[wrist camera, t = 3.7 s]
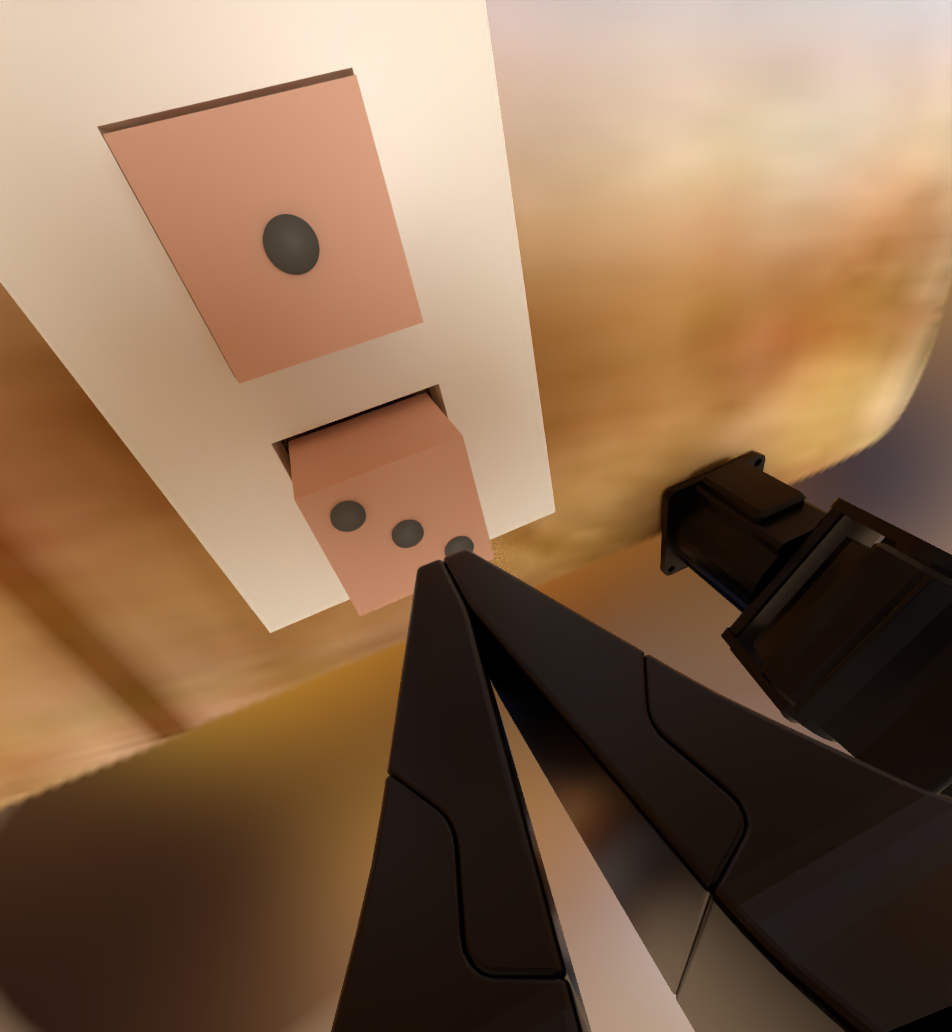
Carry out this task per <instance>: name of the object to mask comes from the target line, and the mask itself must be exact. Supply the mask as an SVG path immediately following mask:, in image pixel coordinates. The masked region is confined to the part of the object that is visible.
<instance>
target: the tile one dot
mask: <svg viewBox="0 0 952 1032" xmlns="http://www.w3.org/2000/svg"><path fill="white" fill-rule="evenodd" d="M103 136H104V138H105V140H106V141H107V143H108V145H109V147H110V149H111V151H112V152H113V154H114V156H115V158H116V160H117V161H118V163H119V165H120V167H121V169H122V171H123V172H124V174H125V176H126V178H127V180H128V182H129V183H130V185H131V187H132V189H133V191H134V192H135V194H136V196H137V198H138V200H139V202H140V203H141V205H142V207H143V209H144V211H145V213H146V214H147V216H148V218H149V220H150V222H151V223H152V225H153V227H154V229H155V231H156V233H157V234H158V236H159V238H160V240H161V242H162V244H163V245H164V247H165V249H166V251H167V253H168V254H169V256H170V258H171V260H172V262H173V264H174V265H175V267H176V269H177V271H178V273H179V275H180V276H181V278H182V280H183V282H184V284H185V286H186V287H187V289H188V291H189V293H190V295H191V296H192V298H193V300H194V302H195V304H196V306H197V307H198V309H199V311H200V313H201V315H202V317H203V318H204V320H205V322H206V324H207V326H208V327H209V329H210V331H211V333H212V335H213V337H214V338H215V340H216V342H217V344H218V346H219V348H220V349H221V351H222V353H223V355H224V357H225V358H226V360H227V362H228V364H229V366H230V368H231V369H232V371H233V373H234V375H235V377H236V379H237V380H238V382H239V384H240V383H243V382H246V381H249V380H252V379H255V378H258V377H261V376H264V375H267V374H270V373H273V372H276V371H279V370H282V369H285V368H288V367H291V366H294V365H297V364H300V363H303V362H306V361H309V360H312V359H315V358H318V357H321V356H324V355H327V354H330V353H333V352H336V351H339V350H342V349H345V348H348V347H351V346H354V345H357V344H360V343H363V342H366V341H369V340H372V339H375V338H378V337H381V336H384V335H387V334H390V333H393V332H396V331H399V330H402V329H405V328H408V327H411V326H414V325H417V324H420V323H423V319H422V315H421V311H420V308H419V304H418V300H417V297H416V293H415V289H414V286H413V282H412V278H411V275H410V271H409V267H408V264H407V260H406V256H405V253H404V249H403V245H402V242H401V238H400V234H399V231H398V227H397V223H396V220H395V216H394V212H393V208H392V205H391V201H390V197H389V194H388V190H387V186H386V183H385V179H384V175H383V172H382V168H381V164H380V161H379V157H378V153H377V150H376V146H375V142H374V139H373V135H372V131H371V128H370V124H369V120H368V117H367V113H366V109H365V105H364V102H363V98H362V94H361V91H360V87H359V83H358V80H357V76H356V75H353V76H348V77H344V78H340V79H336V80H331V81H327V82H323V83H319V84H314V85H310V86H306V87H302V88H297V89H293V90H289V91H285V92H280V93H276V94H272V95H268V96H263V97H259V98H255V99H251V100H246V101H242V102H238V103H234V104H229V105H225V106H221V107H217V108H212V109H208V110H204V111H200V112H195V113H191V114H187V115H183V116H178V117H174V118H170V119H166V120H161V121H157V122H153V123H149V124H144V125H140V126H136V127H132V128H127V129H123V130H119V131H115V132H110V133H106V134H103Z"/></svg>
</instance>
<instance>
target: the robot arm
mask: <svg viewBox="0 0 952 1032" xmlns="http://www.w3.org/2000/svg"><path fill="white" fill-rule="evenodd" d="M764 463H765V456H764V455H763V454H761V453H759V452H753V453H751V454H748V455H746V456H744V457H741V458H739V459H737V460H735V461H732V462H730V463H728V464H725V465H723V466H721V467H718V468H716V469H714V470H712V471H709V472H707V473H705V474H702V475H700V476H698V477H695V478H693V479H691V480H688V481H686V482H684V483H682V484H679V485H677V486H675V487H672V488H670V489H669V490H668V491H667V492H666V493H665V495H664V498H663V517H662V542H661V565H660V569H661V571H662V572H663V573H664V574H666V575H671V574H674V573H676V572H678V571H680V570H682V569H684V568H686V567H689V568H691V569H692V570H693V571H694V572H695V573H696V574H698V575H699V576H700V577H701V578H702V579H704V580H705V581H706V582H707V583H708V584H709V585H711V586H712V587H713V588H714V589H715V590H716V591H717V592H719V593H720V594H721V595H722V596H723V597H724V598H726V599H727V600H728V601H729V602H730V603H732V604H733V605H734V606H735V607H736V608H737V609H738V610H740V611H741V612H742V614H741V615H740V616H739V618H738V619H737V620H736V621H735V622H734V623H733V625H732V626H731V627H730V628H727V629H726V630H725V631H724V632H723V633H722V634H721V636H722V638H723V639H724V640H725V641H726V643H727V644H728V645H729V646H730V650H731V651H732V652H733V654H734V655H735V656H736V657H737V659H738V660H739V661H740V662H741V663H742V665H743V666H744V667H745V668H746V670H747V671H748V672H749V673H750V675H751V676H752V677H753V678H754V680H755V681H756V682H757V683H758V684H759V686H760V687H761V688H762V689H763V691H764V692H765V693H766V694H767V696H768V697H769V698H770V699H771V701H772V702H773V703H774V704H775V705H776V707H777V708H778V709H779V710H780V712H781V714H782V715H783V716H784V717H785V718H786V719H787V720H789V721H790V722H793V723H799V724H801V725H802V726H804V727H805V728H807V729H808V730H810V731H811V732H813V733H815V734H817V735H818V736H820V737H822V738H824V739H827V740H829V741H833V742H838V743H839V744H841V745H842V746H843V747H844V748H845V749H846V750H847V751H848V752H849V753H851V754H852V755H853V756H854V757H855V758H854V757H852V756H850V755H848V754H846V753H843V752H841V751H839V750H837V749H834V748H832V747H831V746H828V745H826V744H824V743H821V742H820V741H818V740H815V739H813V738H811V737H809V736H807V735H805V734H802V733H800V732H798V731H796V730H794V729H792V728H789V727H787V726H785V725H783V724H781V723H779V722H776V721H774V720H772V719H770V718H768V717H766V716H764V715H761V714H760V713H757V712H755V711H753V710H751V709H749V708H747V707H745V706H743V705H741V704H739V703H737V702H735V701H732V700H731V699H729V698H727V697H725V696H723V695H721V694H719V693H716V692H714V691H713V690H711V689H709V688H707V687H706V686H704V685H702V684H700V683H698V682H696V681H695V680H693V679H691V678H689V677H687V676H686V675H684V674H682V673H680V672H678V671H676V670H674V669H673V668H671V667H669V666H668V665H666V664H664V663H662V662H661V661H659V660H657V659H656V658H654V657H652V656H651V655H646V656H645V658H644V652H643V651H641V650H640V649H638V648H637V647H635V646H633V645H631V644H630V643H628V642H626V641H624V640H623V639H621V638H619V637H618V636H616V635H614V634H612V633H611V632H609V631H607V630H606V629H604V628H602V627H600V626H599V625H597V624H595V623H594V622H592V621H590V620H588V619H587V618H585V617H583V616H582V615H580V614H578V613H576V612H574V611H573V610H571V609H569V608H568V607H566V606H564V605H563V604H561V603H559V602H557V601H556V600H554V599H552V598H550V597H549V596H547V595H545V594H543V593H542V592H540V591H539V590H537V589H535V588H533V587H532V586H530V585H528V584H526V583H525V582H523V581H521V580H520V579H518V578H516V577H514V576H513V575H511V574H509V573H508V572H506V571H504V570H502V569H501V568H499V567H497V566H496V565H494V564H492V563H490V562H489V561H487V560H485V559H483V558H482V557H480V556H478V555H477V554H475V553H473V552H471V551H470V550H467V549H464V550H461V551H458V552H456V553H453V554H451V555H448V556H446V557H445V558H444V562H443V561H442V560H436V561H433V562H430V563H428V564H425V565H423V566H421V567H419V568H418V570H417V573H416V580H415V587H414V593H413V600H412V607H411V614H410V621H409V627H408V634H407V641H406V648H405V655H404V661H403V668H402V675H401V682H400V689H399V696H398V702H397V709H396V716H395V722H394V729H393V736H392V742H391V749H390V756H389V763H388V769H387V772H388V774H389V775H390V776H388V777H387V778H386V781H385V788H384V794H383V801H382V808H381V814H380V820H379V826H378V831H377V837H376V842H375V848H374V853H373V860H372V865H371V869H370V874H369V878H368V882H367V887H366V891H365V896H364V900H363V904H362V909H361V913H360V917H359V922H358V926H357V930H356V934H355V938H354V942H353V947H352V951H351V954H350V959H349V962H348V966H347V970H346V974H345V978H344V982H343V986H342V990H341V994H340V998H339V1002H338V1005H337V1010H336V1013H335V1017H334V1021H333V1025H332V1030H331V1032H591V1028H590V1025H589V1021H588V1018H587V1015H586V1011H585V1007H584V1004H583V1001H582V998H581V994H580V990H579V987H578V983H577V980H576V976H575V973H574V969H573V966H572V962H571V959H570V956H569V952H568V948H567V945H566V941H565V938H564V935H563V931H562V927H561V925H560V920H559V917H558V914H557V910H556V907H555V903H554V900H553V896H552V893H551V889H550V886H549V882H548V879H547V875H546V872H545V868H544V865H543V861H542V858H541V854H540V851H539V848H538V844H537V840H536V837H535V834H534V830H533V827H532V823H531V819H530V816H529V813H528V809H527V806H526V802H525V799H524V795H523V792H522V789H521V785H520V781H519V778H518V774H517V771H516V767H515V764H514V760H513V757H512V754H511V750H510V746H509V743H508V739H507V736H506V732H505V729H504V725H503V722H502V719H501V716H500V712H499V708H498V705H497V701H496V698H495V695H494V692H493V688H492V685H493V686H494V688H495V690H496V692H497V694H498V696H499V697H500V699H501V701H502V702H503V704H504V706H505V708H506V709H507V711H508V713H509V715H510V716H511V718H512V720H513V721H514V723H515V725H516V727H517V728H518V730H519V732H520V733H521V735H522V737H523V739H524V740H525V742H526V744H527V745H528V747H529V749H530V750H531V752H532V754H533V756H534V757H535V759H536V761H537V762H538V764H539V766H540V767H541V769H542V771H543V773H544V774H545V776H546V778H547V779H548V781H549V783H550V785H551V786H552V787H553V790H554V791H555V793H556V794H557V796H558V798H559V800H560V802H561V803H562V805H563V807H564V808H565V810H566V812H567V813H568V815H569V817H570V819H571V820H572V822H573V824H574V825H575V827H576V829H577V830H578V832H579V834H580V835H581V837H582V839H583V841H584V843H585V844H586V846H587V848H588V849H589V851H590V853H591V854H592V856H593V858H594V860H595V861H596V863H597V865H598V866H599V868H600V870H601V871H602V873H603V875H604V877H605V878H606V880H607V882H608V883H609V885H610V887H611V888H612V890H613V892H614V893H615V895H616V897H617V899H618V900H619V902H620V904H621V906H622V907H623V909H624V910H625V912H626V914H627V916H628V917H629V919H630V921H631V923H632V924H633V926H634V928H635V930H636V931H637V933H638V935H639V936H640V938H641V940H642V941H643V943H644V945H645V947H646V948H647V950H648V952H649V953H650V955H651V957H652V959H653V960H654V962H655V964H656V965H657V967H658V969H659V970H660V972H661V974H662V976H663V977H664V979H665V981H666V982H667V984H668V986H669V987H670V989H671V991H672V992H673V994H677V995H676V999H677V1001H678V1003H679V1005H680V1007H681V1008H682V1010H683V1012H684V1013H685V1015H686V1017H687V1018H688V1020H689V1022H690V1023H691V1025H692V1027H693V1028H694V1030H695V1032H952V555H951V554H949V553H947V552H945V551H943V550H941V549H939V548H937V547H935V546H933V545H931V544H929V543H927V542H925V541H923V540H921V539H919V538H918V537H916V536H914V535H912V534H909V533H907V532H906V531H904V530H902V529H900V528H898V527H896V526H894V525H892V524H890V523H888V522H886V521H884V520H882V519H880V518H878V517H876V516H874V515H872V514H870V513H868V512H866V511H864V510H862V509H860V508H858V507H856V506H854V505H852V504H850V503H848V502H846V501H844V500H842V499H840V498H837V499H836V500H835V501H834V502H833V504H832V505H831V506H830V507H831V509H830V510H829V512H828V513H827V512H825V511H823V510H821V509H819V508H818V507H816V506H814V505H812V504H810V503H809V502H807V501H805V500H806V496H805V495H804V494H803V493H801V492H800V491H798V490H796V489H794V488H792V487H790V486H789V485H787V484H785V483H783V482H781V481H779V480H777V479H776V478H774V477H772V476H770V475H768V474H766V473H764V472H763V468H764ZM881 535H883V536H885V538H884V539H883V540H882V541H881V543H877V544H874V542H875V541H876V540H877V539H878V538H879V537H880V536H881ZM873 544H874V545H873ZM872 545H873V546H872ZM871 546H872V547H871ZM870 547H871V548H870ZM490 680H491V682H492V685H491V682H490Z"/></svg>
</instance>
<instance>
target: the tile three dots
mask: <svg viewBox="0 0 952 1032" xmlns="http://www.w3.org/2000/svg"><path fill="white" fill-rule="evenodd" d="M288 445H289V454H290V464H291V473H292V483H293V492H294V500H295V502H296V504H297V505H298V507H299V509H300V511H301V513H302V514H303V516H304V518H305V520H306V521H307V523H308V525H309V527H310V529H311V530H312V532H313V534H314V536H315V538H316V539H317V541H318V543H319V545H320V546H321V548H322V550H323V552H324V554H325V555H326V557H327V559H328V561H329V562H330V564H331V566H332V568H333V570H334V571H335V573H336V575H337V577H338V578H339V580H340V582H341V584H342V586H343V587H344V589H345V591H346V593H347V594H348V596H349V598H350V600H351V602H352V603H353V605H354V607H355V609H356V610H357V612H358V614H359V616H360V617H361V616H363V615H365V614H368V613H370V612H372V611H375V610H377V609H379V608H382V607H384V606H386V605H389V604H391V603H393V602H396V601H398V600H400V599H403V598H405V597H407V596H409V595H412V594H413V593H414V587H415V580H416V573H417V570H418V568H419V567H421V566H423V565H425V564H428V563H430V562H433V561H436V560H442V561H443V562H444V558H445V557H446V556H448V555H451V554H453V553H456V552H458V551H461V550H464V549H467V550H470V551H471V552H473V553H475V554H477V555H478V556H480V557H482V558H483V559H485V560H487V561H491V560H493V559H495V558H494V554H493V550H492V547H491V543H490V539H489V535H488V531H487V527H486V523H485V520H484V516H483V512H482V508H481V504H480V500H479V496H478V493H477V489H476V485H475V481H474V477H473V473H472V469H471V466H470V462H469V458H468V454H467V450H466V446H465V443H464V439H463V435H462V434H461V433H460V432H459V431H458V430H457V428H456V427H455V426H454V425H453V424H452V423H451V421H450V420H449V419H448V418H447V417H446V416H445V414H444V413H443V412H442V411H441V410H440V409H439V407H438V406H437V405H436V404H435V403H434V402H433V400H432V399H431V398H430V397H429V396H428V394H427V393H426V392H425V393H422V394H419V395H416V396H414V397H411V398H408V399H405V400H402V401H400V402H397V403H394V404H391V405H389V406H386V407H383V408H380V409H377V410H375V411H372V412H369V413H366V414H363V415H361V416H358V417H355V418H352V419H349V420H347V421H344V422H341V423H338V424H336V425H333V426H330V427H327V428H324V429H322V430H319V431H316V432H313V433H310V434H308V435H305V436H302V437H299V438H297V439H294V440H291V441H288Z"/></svg>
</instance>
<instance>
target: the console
mask: <svg viewBox="0 0 952 1032" xmlns="http://www.w3.org/2000/svg"><path fill="white" fill-rule="evenodd" d="M353 75H356V76H357V80H358V83H359V87H360V91H361V94H362V98H363V102H364V105H365V109H366V113H367V117H368V120H369V124H370V128H371V131H372V135H373V139H374V142H375V146H376V150H377V153H378V157H379V161H380V164H381V168H382V172H383V175H384V179H385V183H386V186H387V190H388V194H389V197H390V201H391V205H392V208H393V212H394V216H395V220H396V223H397V227H398V231H399V234H400V238H401V242H402V245H403V249H404V253H405V256H406V260H407V264H408V267H409V271H410V275H411V278H412V282H413V286H414V289H415V293H416V297H417V300H418V304H419V308H420V311H421V315H422V319H423V323H420V324H417V325H414V326H411V327H408V328H405V329H402V330H399V331H396V332H393V333H390V334H387V335H384V336H381V337H378V338H375V339H372V340H369V341H366V342H363V343H360V344H357V345H354V346H351V347H348V348H345V349H342V350H339V351H336V352H333V353H330V354H327V355H324V356H321V357H318V358H315V359H312V360H309V361H306V362H303V363H300V364H297V365H294V366H291V367H288V368H285V369H282V370H279V371H276V372H273V373H270V374H267V375H264V376H261V377H258V378H255V379H252V380H249V381H246V382H243V383H240V384H239V382H238V380H237V379H236V377H235V375H234V373H233V371H232V369H231V368H230V366H229V364H228V362H227V360H226V358H225V357H224V355H223V353H222V351H221V349H220V348H219V346H218V344H217V342H216V340H215V338H214V337H213V335H212V333H211V331H210V329H209V327H208V326H207V324H206V322H205V320H204V318H203V317H202V315H201V313H200V311H199V309H198V307H197V306H196V304H195V302H194V300H193V298H192V296H191V295H190V293H189V291H188V289H187V287H186V286H185V284H184V282H183V280H182V278H181V276H180V275H179V273H178V271H177V269H176V267H175V265H174V264H173V262H172V260H171V258H170V256H169V254H168V253H167V251H166V249H165V247H164V245H163V244H162V242H161V240H160V238H159V236H158V234H157V233H156V231H155V229H154V227H153V225H152V223H151V222H150V220H149V218H148V216H147V214H146V213H145V211H144V209H143V207H142V205H141V203H140V202H139V200H138V198H137V196H136V194H135V192H134V191H133V189H132V187H131V185H130V183H129V182H128V180H127V178H126V176H125V174H124V172H123V171H122V169H121V167H120V165H119V163H118V161H117V160H116V158H115V156H114V154H113V152H112V151H111V149H110V147H109V145H108V143H107V141H106V140H105V138H104V136H103V134H106V133H110V132H115V131H119V130H123V129H127V128H132V127H136V126H140V125H144V124H149V123H153V122H157V121H161V120H166V119H170V118H174V117H178V116H183V115H187V114H191V113H195V112H200V111H204V110H208V109H212V108H217V107H221V106H225V105H229V104H234V103H238V102H242V101H246V100H251V99H255V98H259V97H263V96H268V95H272V94H276V93H280V92H285V91H289V90H293V89H297V88H302V87H306V86H310V85H314V84H319V83H323V82H327V81H331V80H336V79H340V78H344V77H348V76H353ZM0 282H1V284H2V285H3V286H4V288H5V289H6V290H7V292H8V293H9V294H10V295H11V297H12V298H13V299H14V301H15V302H16V303H17V305H18V306H19V307H20V308H21V310H22V311H23V312H24V314H25V315H26V316H27V318H28V319H29V320H30V321H31V323H32V324H33V325H34V327H35V328H36V329H37V331H38V332H39V333H40V334H41V336H42V337H43V338H44V340H45V341H46V342H47V344H48V345H49V346H50V347H51V349H52V350H53V351H54V353H55V354H56V355H57V357H58V358H59V359H60V360H61V362H62V363H63V364H64V366H65V367H66V368H67V370H68V371H69V372H70V373H71V375H72V376H73V377H74V379H75V380H76V381H77V383H78V384H79V385H80V386H81V388H82V389H83V390H84V392H85V393H86V394H87V396H88V397H89V398H90V399H91V401H92V402H93V403H94V405H95V406H96V407H97V409H98V410H99V411H100V412H101V414H102V415H103V416H104V418H105V419H106V420H107V422H108V423H109V424H110V425H111V427H112V428H113V429H114V431H115V432H116V433H117V435H118V436H119V437H120V438H121V440H122V441H123V442H124V444H125V445H126V446H127V447H128V449H129V450H130V451H131V453H132V454H133V455H134V457H135V458H136V459H137V460H138V462H139V463H140V464H141V466H142V467H143V468H144V470H145V471H146V472H147V473H148V475H149V476H150V477H151V479H152V480H153V481H154V483H155V484H156V485H157V486H158V488H159V489H160V490H161V492H162V493H163V494H164V496H165V497H166V498H167V499H168V501H169V502H170V503H171V505H172V506H173V507H174V509H175V510H176V511H177V512H178V514H179V515H180V516H181V518H182V519H183V520H184V522H185V523H186V524H187V525H188V527H189V528H190V529H191V531H192V532H193V533H194V535H195V536H196V537H197V538H198V540H199V541H200V542H201V544H202V545H203V546H204V548H205V549H206V550H207V551H208V553H209V554H210V555H211V557H212V558H213V559H214V561H215V562H216V563H217V564H218V566H219V567H220V568H221V570H222V571H223V572H224V574H225V575H226V576H227V577H228V579H229V580H230V581H231V583H232V584H233V585H234V587H235V588H236V589H237V590H238V592H239V593H240V594H241V596H242V597H243V598H244V600H245V601H246V602H247V603H248V605H249V606H250V607H251V609H252V610H253V611H254V613H255V614H256V615H257V616H258V618H259V619H260V620H261V622H262V623H263V624H264V626H265V627H266V628H267V629H268V631H269V632H270V633H271V632H274V631H276V630H279V629H281V628H283V627H286V626H288V625H290V624H293V623H295V622H297V621H300V620H302V619H304V618H307V617H309V616H312V615H314V614H316V613H319V612H321V611H323V610H326V609H328V608H330V607H333V606H335V605H338V604H340V603H342V602H345V601H347V600H349V599H350V598H349V596H348V594H347V593H346V591H345V589H344V587H343V586H342V584H341V582H340V580H339V578H338V577H337V575H336V573H335V571H334V570H333V568H332V566H331V564H330V562H329V561H328V559H327V557H326V555H325V554H324V552H323V550H322V548H321V546H320V545H319V543H318V541H317V539H316V538H315V536H314V534H313V532H312V530H311V529H310V527H309V525H308V523H307V521H306V520H305V518H304V516H303V514H302V513H301V511H300V509H299V507H298V505H297V504H296V502H295V500H294V492H293V483H292V473H291V464H290V457H289V455H288V453H287V451H286V449H285V448H284V446H283V444H282V442H281V440H283V439H286V438H289V437H292V436H294V435H297V434H300V433H303V432H306V431H308V430H311V429H314V428H317V427H320V426H322V425H325V424H328V423H331V422H334V421H336V420H339V419H342V418H345V417H348V416H350V415H353V414H356V413H359V412H362V411H364V410H367V409H370V408H373V407H375V406H378V405H381V404H384V403H387V402H389V401H392V400H395V399H398V398H401V397H403V396H406V395H409V394H412V393H415V392H417V391H420V390H423V389H426V388H429V390H430V393H431V396H432V400H433V402H434V403H435V404H436V405H437V406H438V407H439V409H440V410H441V411H442V412H443V413H444V414H445V416H446V417H447V418H448V419H449V420H450V421H451V423H452V424H453V425H454V426H455V427H456V428H457V430H458V431H459V432H460V433H461V434H462V435H463V439H464V443H465V446H466V450H467V454H468V458H469V462H470V466H471V469H472V473H473V477H474V481H475V485H476V489H477V493H478V496H479V500H480V504H481V508H482V512H483V516H484V520H485V523H486V527H487V531H488V535H489V539H490V540H491V539H493V538H496V537H498V536H500V535H503V534H505V533H507V532H510V531H512V530H514V529H517V528H519V527H522V526H524V525H526V524H529V523H531V522H533V521H536V520H538V519H540V518H543V517H545V516H548V515H550V514H552V513H555V505H554V498H553V490H552V483H551V476H550V468H549V461H548V454H547V447H546V439H545V432H544V425H543V417H542V410H541V403H540V396H539V388H538V381H537V374H536V367H535V359H534V352H533V345H532V337H531V330H530V323H529V316H528V308H527V301H526V294H525V286H524V279H523V272H522V265H521V257H520V250H519V243H518V235H517V228H516V221H515V214H514V206H513V199H512V192H511V185H510V177H509V170H508V163H507V155H506V148H505V141H504V134H503V126H502V119H501V112H500V104H499V97H498V90H497V83H496V75H495V68H494V61H493V53H492V46H491V39H490V32H489V24H488V17H487V10H486V3H485V0H0Z"/></svg>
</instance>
